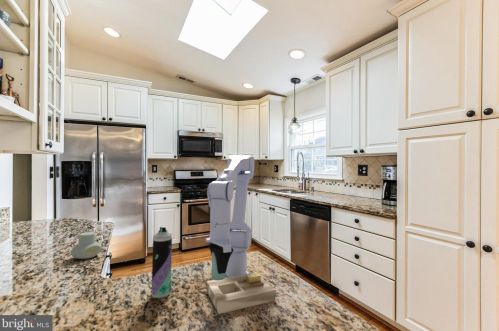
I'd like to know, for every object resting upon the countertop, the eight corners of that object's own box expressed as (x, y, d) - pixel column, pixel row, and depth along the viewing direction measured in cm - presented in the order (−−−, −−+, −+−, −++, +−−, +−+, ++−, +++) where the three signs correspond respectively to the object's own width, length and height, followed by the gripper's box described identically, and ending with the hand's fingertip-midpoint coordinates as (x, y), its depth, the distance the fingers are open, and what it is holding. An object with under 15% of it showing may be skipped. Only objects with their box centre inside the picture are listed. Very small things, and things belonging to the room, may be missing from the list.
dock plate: (206, 291, 72) (206, 278, 72) (255, 281, 79) (255, 269, 79) (218, 314, 60) (218, 299, 61) (275, 300, 67) (275, 287, 68)
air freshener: (93, 251, 107) (94, 229, 107) (105, 254, 103) (105, 231, 104) (66, 259, 97) (67, 235, 97) (78, 262, 94) (79, 237, 94)
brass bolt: (245, 282, 72) (245, 274, 72) (257, 280, 73) (257, 272, 73) (248, 286, 69) (249, 277, 69) (260, 283, 71) (261, 275, 71)
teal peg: (210, 275, 68) (210, 251, 68) (223, 273, 70) (223, 249, 70) (213, 281, 64) (213, 256, 65) (227, 278, 66) (227, 253, 66)
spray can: (151, 299, 67) (153, 229, 68) (151, 290, 72) (153, 225, 73) (171, 295, 69) (173, 228, 70) (170, 287, 74) (171, 224, 75)
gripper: (201, 218, 73) (200, 262, 72) (213, 229, 59) (212, 283, 59) (222, 217, 75) (222, 259, 75) (238, 227, 62) (238, 278, 62)
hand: (219, 269), depth 67 cm, fingers closed on teal peg, 4 cm apart
